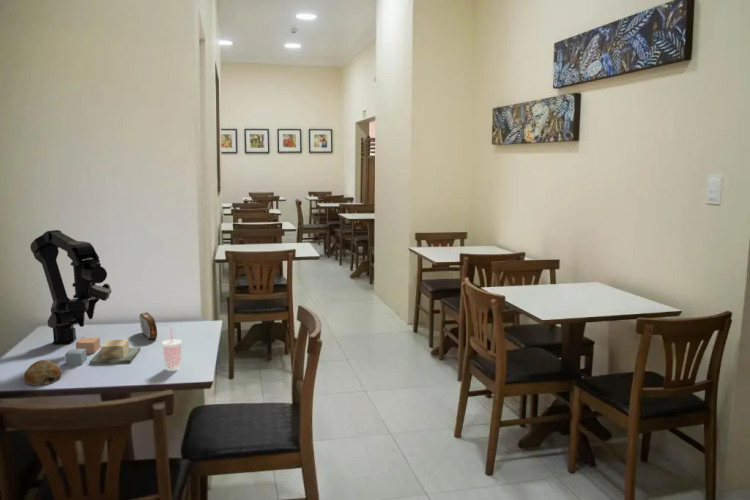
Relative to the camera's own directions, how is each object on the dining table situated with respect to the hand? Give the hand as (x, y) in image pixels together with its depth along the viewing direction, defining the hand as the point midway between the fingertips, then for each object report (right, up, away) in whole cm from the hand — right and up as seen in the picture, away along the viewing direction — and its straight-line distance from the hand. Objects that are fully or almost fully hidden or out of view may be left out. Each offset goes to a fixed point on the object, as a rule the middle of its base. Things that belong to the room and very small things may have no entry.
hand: (86, 322), depth 216 cm
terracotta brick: (0, -10, +2) cm, 10 cm away
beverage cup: (+35, -13, -15) cm, 41 cm away
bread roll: (-2, -15, -25) cm, 29 cm away
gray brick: (+1, -12, -10) cm, 16 cm away
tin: (+15, -8, +18) cm, 25 cm away
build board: (+12, -11, -5) cm, 17 cm away
